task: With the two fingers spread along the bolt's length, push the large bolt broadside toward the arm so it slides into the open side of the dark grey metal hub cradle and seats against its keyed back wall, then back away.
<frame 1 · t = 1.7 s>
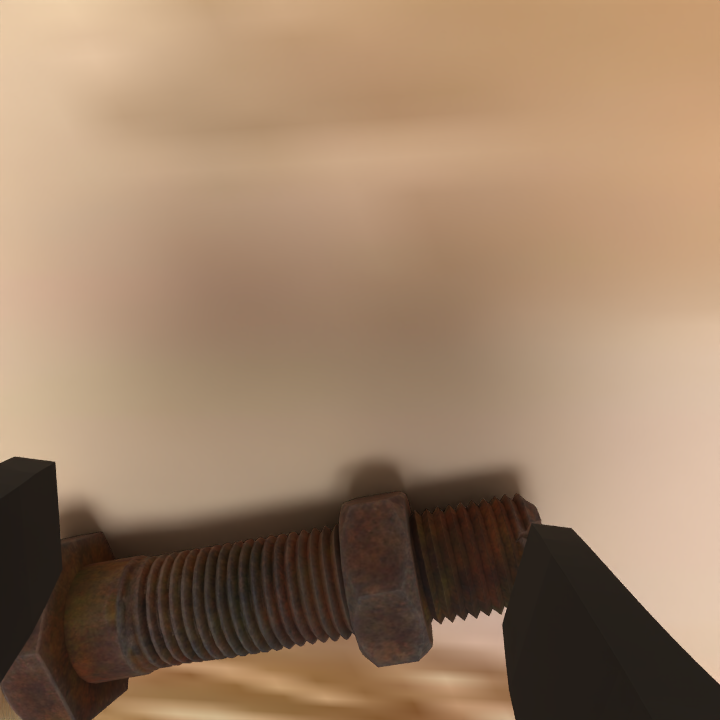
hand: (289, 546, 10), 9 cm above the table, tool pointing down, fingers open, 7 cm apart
hub cradle: (286, 718, 25), on the table
bolt: (297, 537, 22), on the table
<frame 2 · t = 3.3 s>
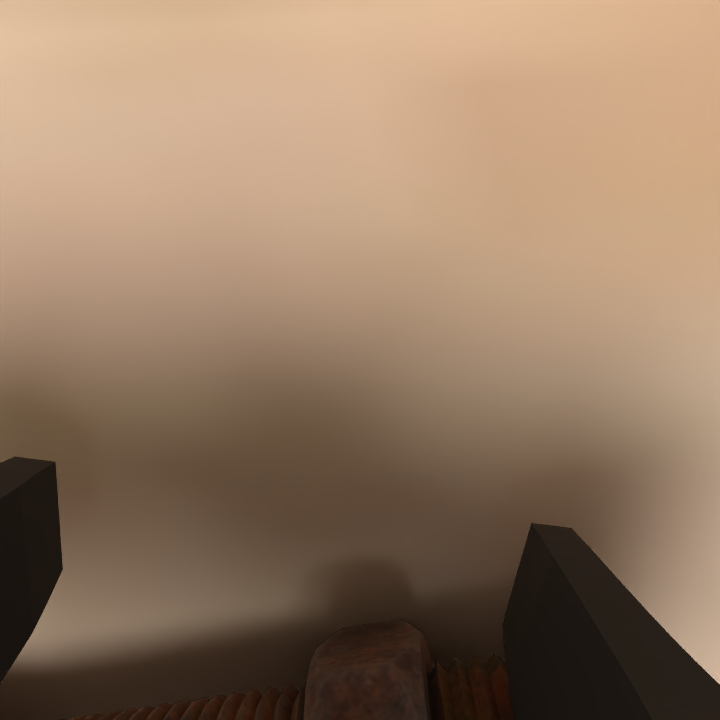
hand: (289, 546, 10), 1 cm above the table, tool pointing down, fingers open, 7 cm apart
bolt: (246, 681, 14), on the table, touching gripper
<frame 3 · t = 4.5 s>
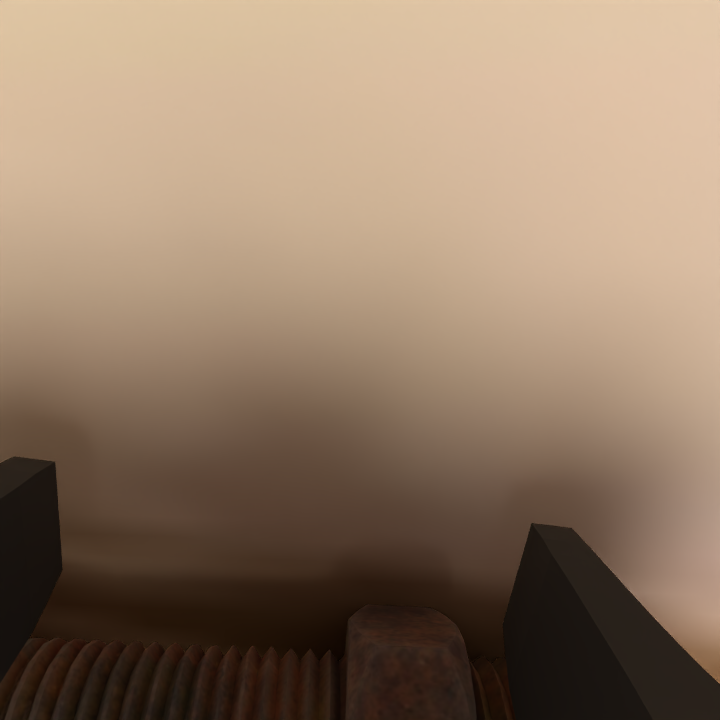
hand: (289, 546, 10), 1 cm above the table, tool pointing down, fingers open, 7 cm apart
bolt: (245, 636, 13), on the table, touching gripper
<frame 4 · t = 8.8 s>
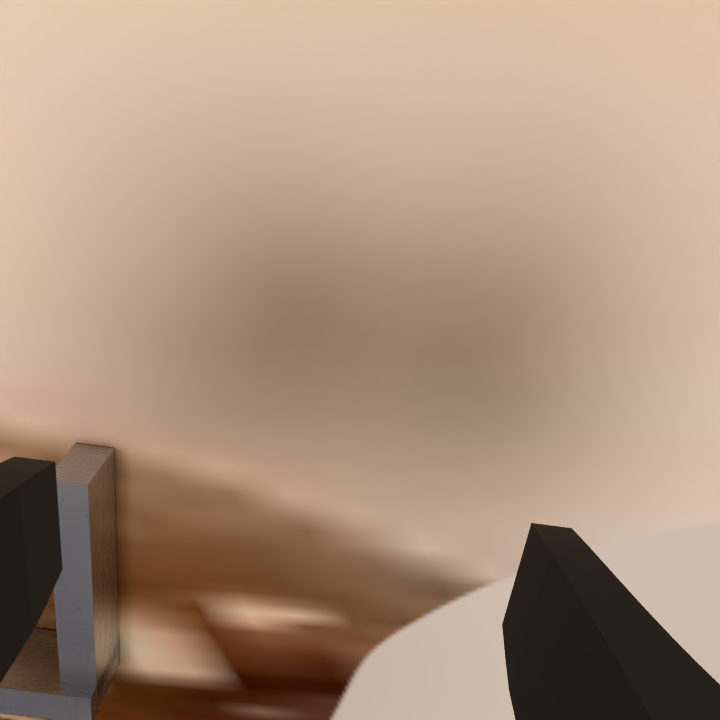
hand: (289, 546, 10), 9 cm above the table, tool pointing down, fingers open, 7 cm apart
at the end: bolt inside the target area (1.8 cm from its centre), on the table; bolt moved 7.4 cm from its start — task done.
